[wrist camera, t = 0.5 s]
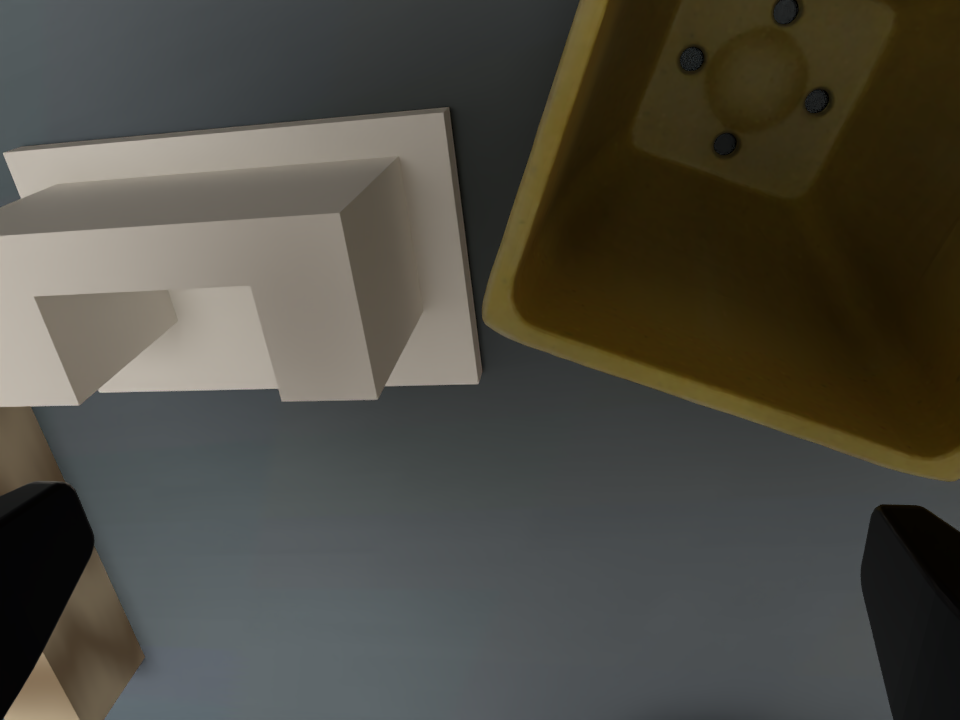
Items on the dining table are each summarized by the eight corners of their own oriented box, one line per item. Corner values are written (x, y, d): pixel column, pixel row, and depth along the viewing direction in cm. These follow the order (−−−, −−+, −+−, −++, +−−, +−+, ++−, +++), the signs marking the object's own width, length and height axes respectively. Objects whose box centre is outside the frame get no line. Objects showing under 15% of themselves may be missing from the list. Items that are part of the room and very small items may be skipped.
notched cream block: (482, 371, 23) (447, 485, 18) (112, 380, 26) (-8, 484, 21) (449, 107, 20) (394, 159, 15) (21, 146, 22) (-151, 203, 17)
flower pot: (522, 189, 20) (470, 333, 13) (645, -189, 16) (679, -323, 8) (825, 290, 21) (957, 495, 13) (1028, -60, 16) (1418, -73, 8)
